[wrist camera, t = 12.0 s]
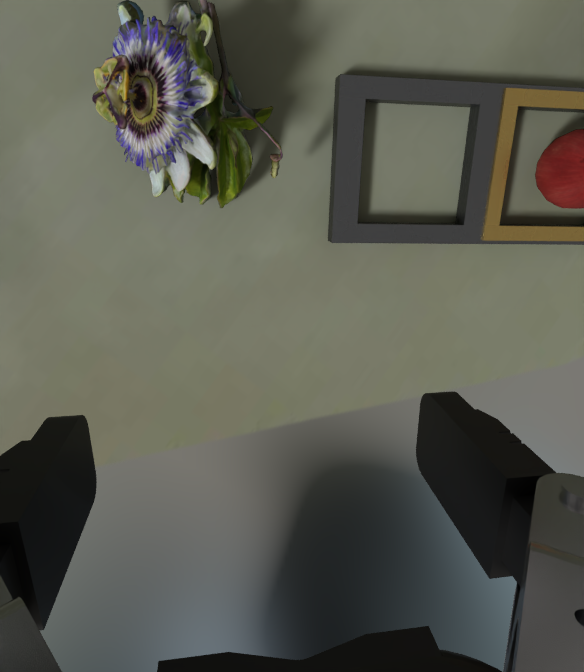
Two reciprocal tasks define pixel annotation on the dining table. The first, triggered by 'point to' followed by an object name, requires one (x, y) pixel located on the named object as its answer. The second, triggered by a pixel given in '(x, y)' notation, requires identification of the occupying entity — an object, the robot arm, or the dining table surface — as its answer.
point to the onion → (563, 171)
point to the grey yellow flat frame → (478, 167)
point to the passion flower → (177, 104)
